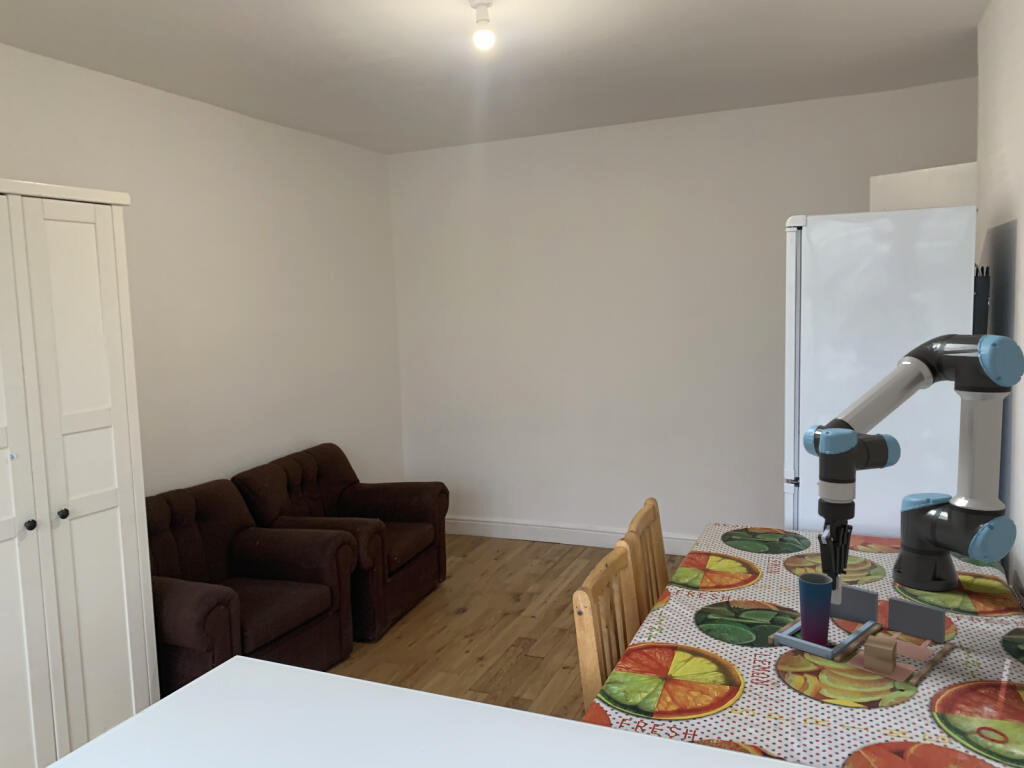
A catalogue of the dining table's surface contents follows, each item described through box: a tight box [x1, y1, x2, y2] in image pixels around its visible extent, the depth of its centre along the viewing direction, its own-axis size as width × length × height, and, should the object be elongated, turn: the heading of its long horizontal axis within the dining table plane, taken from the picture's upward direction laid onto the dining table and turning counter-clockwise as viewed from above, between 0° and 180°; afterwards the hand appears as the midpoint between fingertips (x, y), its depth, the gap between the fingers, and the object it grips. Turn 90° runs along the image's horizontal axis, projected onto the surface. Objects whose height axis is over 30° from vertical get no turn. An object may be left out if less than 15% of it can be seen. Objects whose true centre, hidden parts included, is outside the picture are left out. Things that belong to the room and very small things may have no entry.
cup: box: [798, 572, 833, 647], centre depth 164 cm, size 7×7×15 cm
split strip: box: [844, 596, 947, 683], centre depth 158 cm, size 24×11×8 cm, turn 134°
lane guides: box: [767, 615, 955, 687], centre depth 163 cm, size 23×30×2 cm
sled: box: [773, 583, 879, 661], centre depth 168 cm, size 24×12×8 cm, turn 134°
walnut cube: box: [863, 635, 898, 675], centre depth 152 cm, size 5×5×5 cm
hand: (833, 602), depth 170 cm, fingers closed
